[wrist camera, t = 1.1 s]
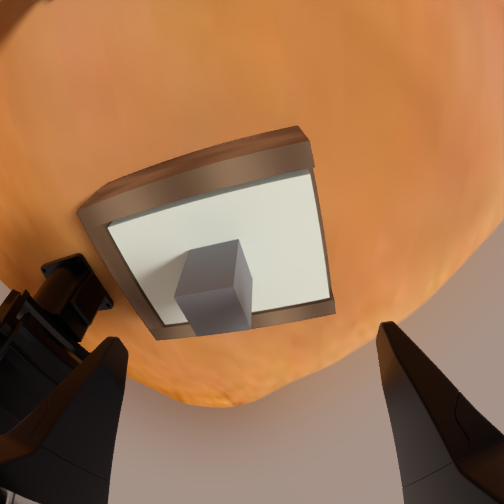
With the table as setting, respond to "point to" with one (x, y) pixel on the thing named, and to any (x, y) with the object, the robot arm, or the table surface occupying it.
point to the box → (191, 184)
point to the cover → (228, 253)
